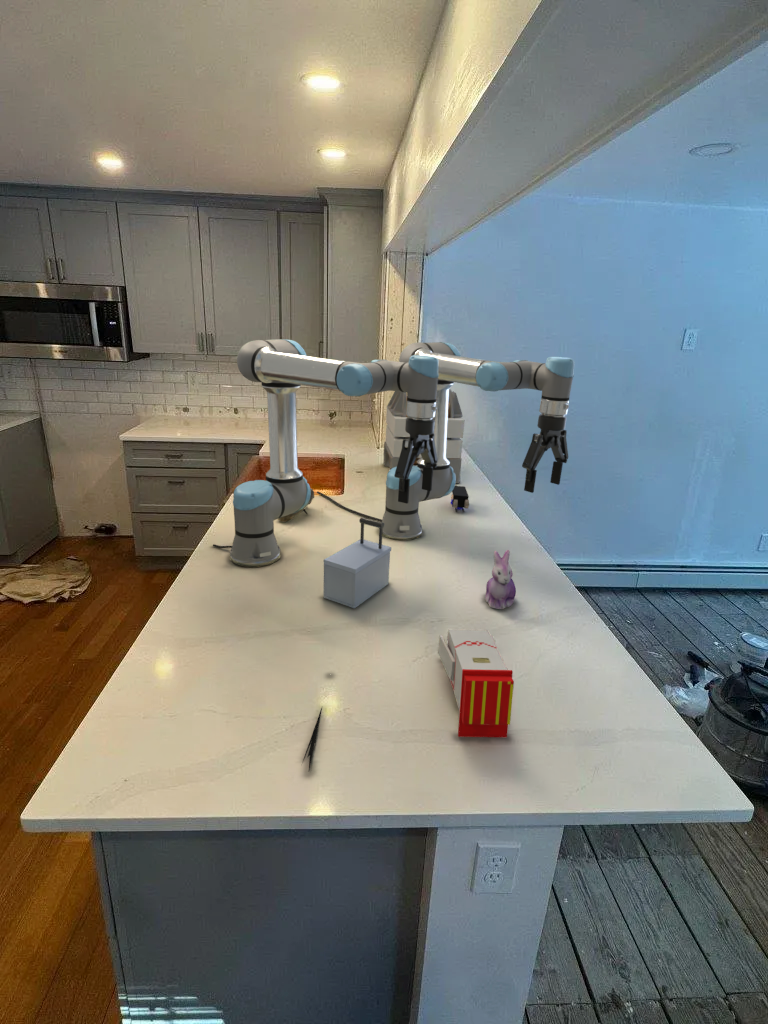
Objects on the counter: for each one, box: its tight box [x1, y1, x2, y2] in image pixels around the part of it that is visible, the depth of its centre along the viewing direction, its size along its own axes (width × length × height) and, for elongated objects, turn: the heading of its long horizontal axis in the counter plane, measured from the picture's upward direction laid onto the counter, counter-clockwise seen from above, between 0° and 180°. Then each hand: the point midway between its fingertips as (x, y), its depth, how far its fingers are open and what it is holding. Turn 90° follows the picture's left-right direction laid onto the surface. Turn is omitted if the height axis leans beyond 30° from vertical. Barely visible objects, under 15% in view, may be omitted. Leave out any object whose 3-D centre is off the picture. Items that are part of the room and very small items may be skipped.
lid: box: [323, 516, 392, 574], centre depth 154 cm, size 18×10×9 cm, turn 149°
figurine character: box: [450, 485, 470, 513], centre depth 227 cm, size 7×8×15 cm
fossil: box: [278, 487, 315, 523], centre depth 213 cm, size 22×10×15 cm
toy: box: [437, 628, 515, 738], centre depth 117 cm, size 12×13×30 cm
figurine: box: [484, 549, 517, 610], centre depth 153 cm, size 9×10×15 cm
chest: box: [323, 551, 391, 609], centre depth 157 cm, size 18×10×10 cm, turn 149°
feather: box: [301, 673, 332, 771], centre depth 108 cm, size 2×28×2 cm
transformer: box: [383, 388, 465, 484], centre depth 268 cm, size 34×33×41 cm
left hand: (415, 495), depth 154 cm, fingers open, 13 cm apart
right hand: (542, 487), depth 165 cm, fingers open, 13 cm apart
